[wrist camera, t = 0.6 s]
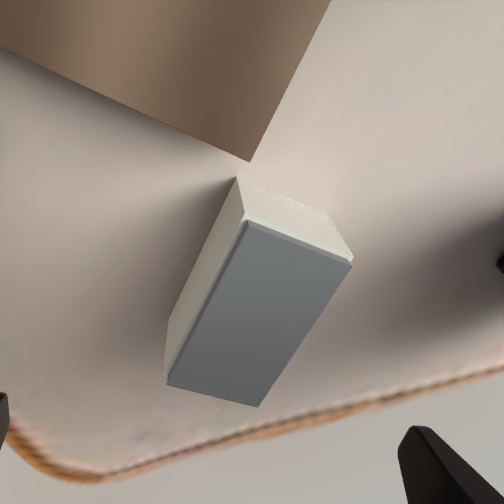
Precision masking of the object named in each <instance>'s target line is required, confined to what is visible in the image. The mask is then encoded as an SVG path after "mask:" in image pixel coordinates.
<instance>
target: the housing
mask: <svg viewBox="0 0 504 504" xmlns="http://www.w3.org/2000/svg"><path fill="white" fill-rule="evenodd" d="M353 258H354V256H353V254H352V253H351V251H350V250H349V248H348V247H347V245H346V244H345V242H344V241H343V239H342V237H341V236H340V234H339V233H338V231H337V230H336V228H335V227H334V225H333V223H332V222H331V220H330V219H329V217H328V216H327V215H326V214H324V213H321V212H319V211H317V210H314V209H312V208H310V207H307V206H305V205H303V204H300V203H298V202H296V201H293V200H291V199H289V198H286V197H284V196H282V195H279V194H277V193H275V192H272V191H270V190H268V189H265V188H263V187H261V186H258V185H256V184H254V183H251V182H249V181H247V180H244V179H242V178H240V177H236V179H235V181H234V183H233V185H232V187H231V189H230V191H229V193H228V196H227V198H226V200H225V202H224V204H223V206H222V208H221V210H220V212H219V214H218V217H217V219H216V221H215V223H214V225H213V227H212V229H211V231H210V233H209V235H208V238H207V240H206V242H205V244H204V246H203V248H202V250H201V252H200V254H199V256H198V259H197V261H196V263H195V265H194V267H193V269H192V271H191V273H190V275H189V278H188V280H187V282H186V284H185V286H184V288H183V290H182V292H181V294H180V296H179V299H178V301H177V303H176V305H175V307H174V309H173V311H172V313H171V315H170V317H169V320H168V328H167V338H166V347H165V356H164V365H163V374H162V377H164V378H167V385H169V386H173V387H177V388H181V389H185V390H189V391H193V392H197V393H201V394H205V395H209V396H213V397H217V398H221V399H225V400H229V401H233V402H237V403H241V404H245V405H249V406H253V407H257V408H258V406H259V405H260V403H261V402H262V400H263V399H264V397H265V396H266V394H267V393H268V391H269V390H270V388H271V387H272V385H273V384H274V382H275V381H276V379H277V378H278V377H279V375H280V374H281V372H282V371H283V369H284V368H285V366H286V365H287V363H288V362H289V360H290V359H291V357H292V356H293V354H294V353H295V351H296V350H297V348H298V347H299V345H300V344H301V342H302V341H303V339H304V338H305V336H306V335H307V333H308V332H309V330H310V329H311V327H312V326H313V324H314V323H315V321H316V320H317V318H318V317H319V315H320V314H321V312H322V311H323V309H324V308H325V306H326V305H327V303H328V302H329V300H330V299H331V297H332V296H333V294H334V293H335V291H336V290H337V288H338V287H339V285H340V284H341V282H342V281H343V279H344V278H345V276H346V275H347V273H348V272H349V270H350V269H351V267H352V266H351V264H350V262H351V261H352V259H353Z"/></svg>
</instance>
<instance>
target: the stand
mask: <svg viewBox="0 0 504 504" xmlns="http://www.w3.org/2000/svg"><path fill="white" fill-rule="evenodd" d="M330 1H331V0H0V47H1V48H3V49H5V50H7V51H9V52H11V53H14V54H16V55H18V56H20V57H22V58H24V59H27V60H29V61H31V62H33V63H35V64H37V65H40V66H42V67H44V68H46V69H48V70H50V71H53V72H55V73H57V74H59V75H61V76H63V77H66V78H68V79H70V80H72V81H74V82H76V83H79V84H81V85H83V86H85V87H87V88H89V89H91V90H94V91H96V92H98V93H100V94H102V95H104V96H107V97H109V98H111V99H113V100H115V101H117V102H120V103H122V104H124V105H126V106H128V107H130V108H133V109H135V110H137V111H139V112H141V113H143V114H146V115H148V116H150V117H152V118H154V119H156V120H159V121H161V122H163V123H165V124H167V125H169V126H172V127H174V128H176V129H178V130H180V131H182V132H185V133H187V134H189V135H191V136H193V137H195V138H198V139H200V140H202V141H204V142H206V143H208V144H211V145H213V146H215V147H217V148H219V149H221V150H224V151H226V152H228V153H230V154H232V155H234V156H237V157H239V158H241V159H243V160H245V161H247V162H249V163H250V161H251V159H252V157H253V155H254V153H255V151H256V149H257V147H258V145H259V143H260V141H261V139H262V137H263V135H264V133H265V131H266V129H267V127H268V125H269V123H270V121H271V119H272V117H273V115H274V113H275V111H276V109H277V107H278V105H279V103H280V101H281V99H282V97H283V95H284V93H285V91H286V89H287V87H288V85H289V83H290V81H291V79H292V77H293V75H294V73H295V71H296V69H297V67H298V65H299V63H300V61H301V59H302V57H303V55H304V53H305V51H306V49H307V47H308V45H309V43H310V41H311V39H312V37H313V35H314V33H315V31H316V29H317V27H318V25H319V23H320V21H321V19H322V17H323V15H324V13H325V11H326V9H327V7H328V5H329V3H330Z"/></svg>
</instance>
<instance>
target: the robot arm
mask: <svg viewBox="0 0 504 504" xmlns="http://www.w3.org/2000/svg"><path fill="white" fill-rule="evenodd" d="M497 269H498V270H500V271H501V272H502V273H503V274H504V255H503V256H502V257H501V258H500V259H499V261H498V262H497ZM9 421H10V418H9V407H8V397H7V394H6V393H4V392H0V450H1V447H2V444H3V442H4V439H5V436H6V434H7V431H8V427H9ZM398 460H399V464H400V469H401V474H402V478H403V483H404V487H405V492H406V496H407V501H408V504H504V497H503V496H502V495H501V494H500V493H499V492H498V491H496V490H495V489H494V488H493V487H492V486H491V485H490V484H489V483H488V482H487V481H486V480H485V479H484V478H483V477H482V476H481V475H479V473H477V472H476V471H475V470H474V469H473V468H472V467H471V466H470V465H469V464H468V463H467V462H466V461H465V460H464V459H462V458H461V457H460V456H459V455H458V454H457V453H456V452H455V451H454V450H453V449H452V448H451V447H450V446H449V445H448V444H447V443H445V441H444V440H442V439H441V438H440V437H439V436H438V435H437V434H436V433H435V432H434V431H433V430H432V429H430V428H429V427H426V426H415V425H414V426H411V427H410V428H409V429H408V431H407V433H406V434H405V436H404V438H403V440H402V442H401V443H400V445H399V447H398Z"/></svg>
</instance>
